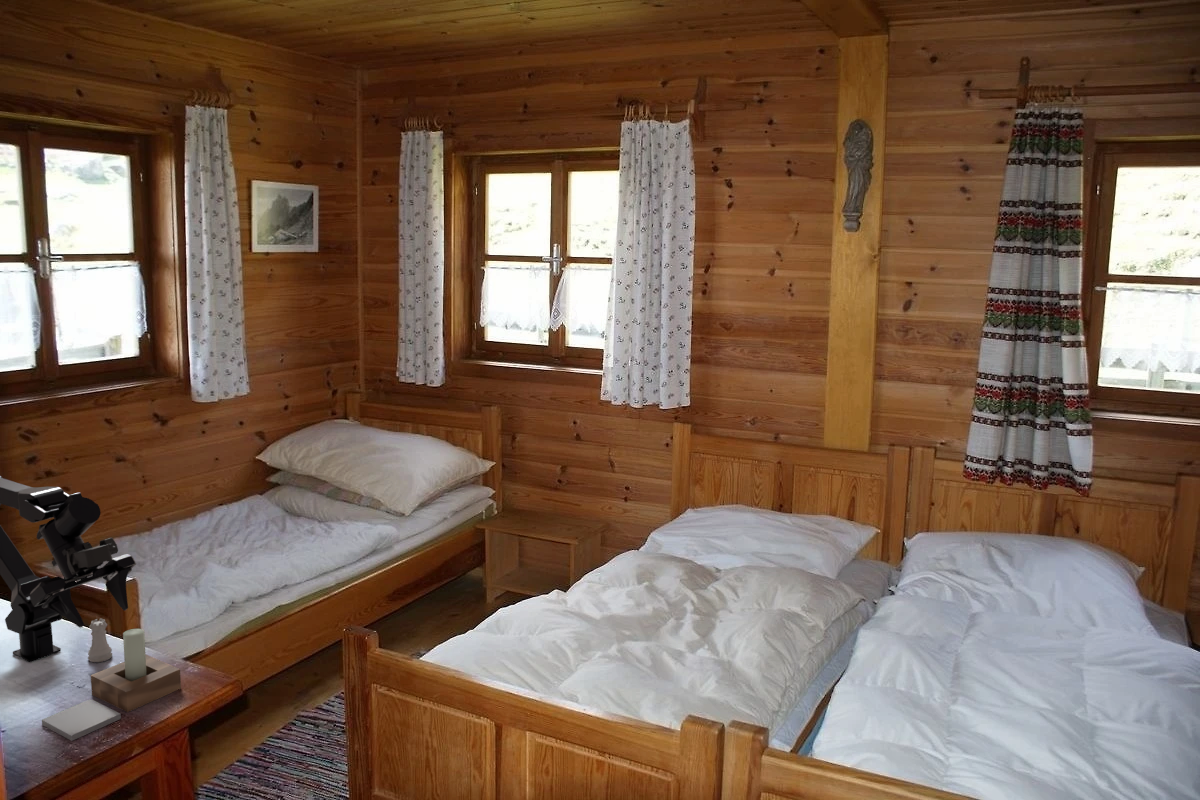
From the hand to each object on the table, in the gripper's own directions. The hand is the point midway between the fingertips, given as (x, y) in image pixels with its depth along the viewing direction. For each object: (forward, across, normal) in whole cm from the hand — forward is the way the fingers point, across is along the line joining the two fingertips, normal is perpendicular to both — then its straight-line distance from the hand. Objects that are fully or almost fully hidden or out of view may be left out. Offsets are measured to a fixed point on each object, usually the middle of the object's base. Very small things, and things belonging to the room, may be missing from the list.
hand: (104, 617), depth 183 cm
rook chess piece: (+4, +5, +16) cm, 17 cm away
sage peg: (+15, 0, +2) cm, 15 cm away
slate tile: (+16, -12, +1) cm, 20 cm away
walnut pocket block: (+15, 0, +2) cm, 15 cm away
